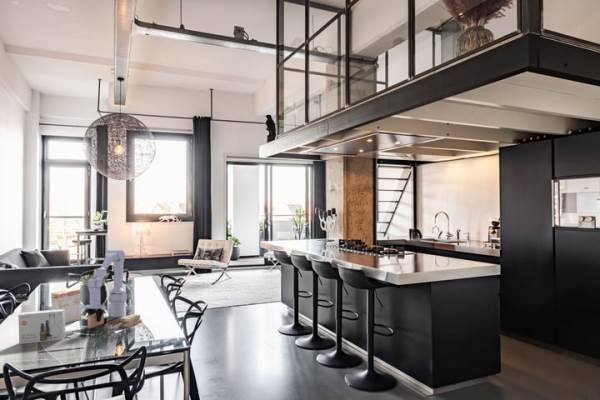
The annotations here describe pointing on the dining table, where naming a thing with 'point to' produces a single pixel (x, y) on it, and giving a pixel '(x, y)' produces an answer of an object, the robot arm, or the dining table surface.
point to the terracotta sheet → (94, 320)
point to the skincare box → (41, 326)
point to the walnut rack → (117, 323)
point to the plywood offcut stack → (130, 320)
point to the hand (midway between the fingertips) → (95, 321)
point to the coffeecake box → (68, 304)
